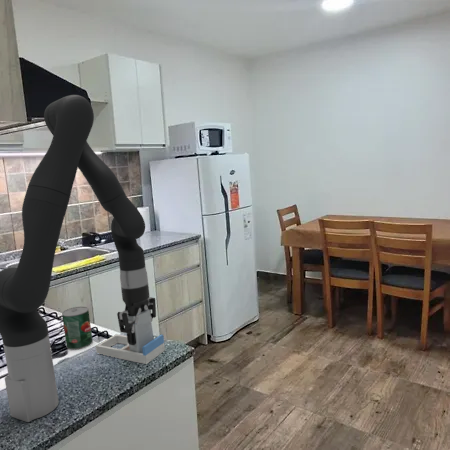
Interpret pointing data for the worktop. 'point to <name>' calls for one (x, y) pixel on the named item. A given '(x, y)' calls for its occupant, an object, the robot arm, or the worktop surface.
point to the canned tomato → (77, 327)
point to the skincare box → (142, 331)
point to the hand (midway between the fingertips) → (140, 338)
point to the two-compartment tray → (124, 353)
